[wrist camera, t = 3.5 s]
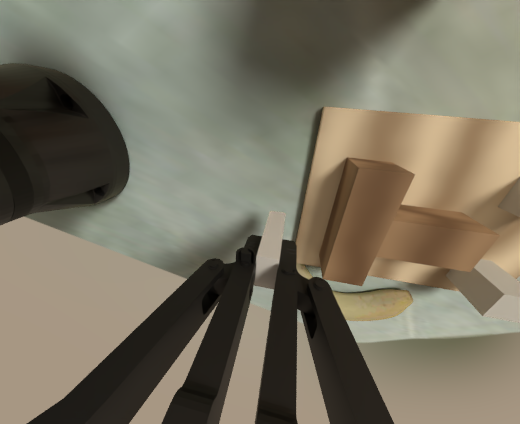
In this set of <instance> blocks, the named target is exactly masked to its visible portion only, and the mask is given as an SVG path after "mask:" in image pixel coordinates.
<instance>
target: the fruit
mask: <svg viewBox="0 0 520 424" xmlns="http://www.w3.org/2000/svg"><path fill="white" fill-rule="evenodd" d="M296 268H297V271H298V273H299V274H300V275H302V276H303V277H305V278H307V279H311V278H312V275H311V274H310V273H309V271H308V270H307V269H306V267H305V265H304V264H300V263H296ZM332 292H333V294H334V296H335V298H336V300H337V302H338V305H339V307H340V309H341V311H342V313H343V315H344V317H345V320H350V321H371V320H381V319H387V318H391V317H394V316H397V315H398V314H400V313H401V312H403V311H404V310H405V309H406V308H407V307H408V306H409V305H411V304H412V302H413V299H412V296H411V294H410V292H409V291H407V290H394V289H383V290H376V291H371V292H364V293H340V292H335V291H332Z"/></svg>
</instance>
